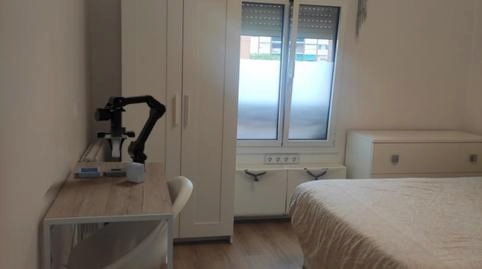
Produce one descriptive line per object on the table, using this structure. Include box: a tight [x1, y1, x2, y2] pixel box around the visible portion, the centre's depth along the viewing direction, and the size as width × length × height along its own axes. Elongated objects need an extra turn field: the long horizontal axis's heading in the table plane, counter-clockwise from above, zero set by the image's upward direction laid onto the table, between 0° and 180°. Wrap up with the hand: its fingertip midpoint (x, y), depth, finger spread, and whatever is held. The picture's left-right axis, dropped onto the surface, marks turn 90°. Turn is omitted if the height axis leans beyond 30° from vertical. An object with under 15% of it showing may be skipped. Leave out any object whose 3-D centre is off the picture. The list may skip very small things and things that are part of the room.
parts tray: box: [78, 166, 101, 179], centre depth 223 cm, size 10×12×2 cm
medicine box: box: [126, 161, 145, 184], centre depth 214 cm, size 8×4×9 cm, turn 58°
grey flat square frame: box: [104, 167, 127, 177], centre depth 227 cm, size 10×10×2 cm
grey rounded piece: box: [111, 140, 121, 158], centre depth 226 cm, size 4×4×8 cm
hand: (115, 150), depth 226 cm, fingers closed on grey rounded piece, 4 cm apart
